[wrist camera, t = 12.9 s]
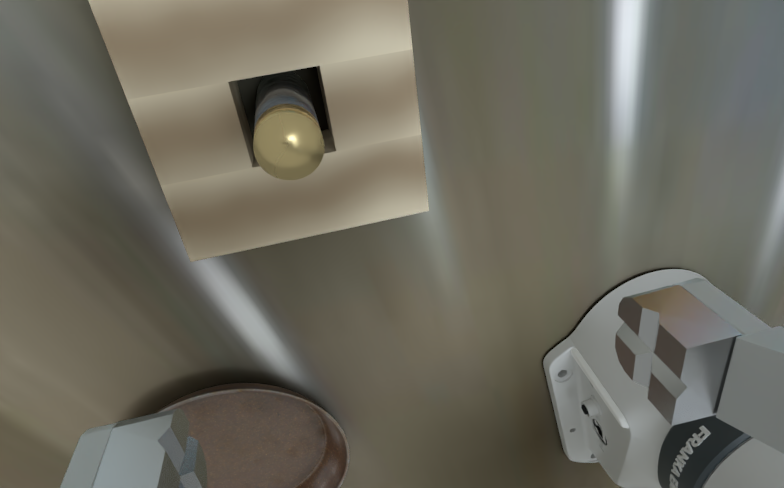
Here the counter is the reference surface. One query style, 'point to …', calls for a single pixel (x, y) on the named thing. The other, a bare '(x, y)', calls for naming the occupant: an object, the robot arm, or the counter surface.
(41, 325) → the counter surface
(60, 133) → the counter surface
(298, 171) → the grey and gold cylinder
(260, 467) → the plant saucer
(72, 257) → the counter surface
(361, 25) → the block
